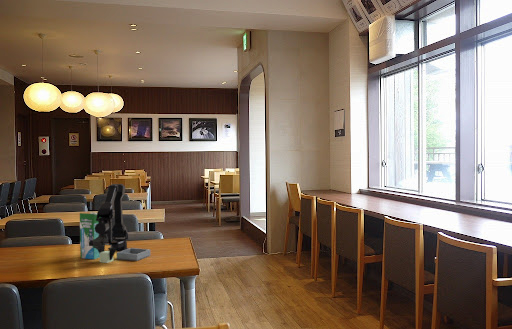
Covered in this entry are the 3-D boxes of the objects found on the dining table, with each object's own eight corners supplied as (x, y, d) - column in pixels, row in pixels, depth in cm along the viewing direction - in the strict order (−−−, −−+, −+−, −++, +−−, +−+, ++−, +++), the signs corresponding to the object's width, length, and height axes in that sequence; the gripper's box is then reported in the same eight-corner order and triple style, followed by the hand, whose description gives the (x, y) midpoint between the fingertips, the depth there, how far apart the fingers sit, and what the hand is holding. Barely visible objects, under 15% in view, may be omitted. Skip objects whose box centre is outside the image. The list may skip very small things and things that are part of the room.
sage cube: (99, 262, 246) (99, 252, 246) (105, 260, 251) (105, 250, 251) (107, 262, 245) (107, 253, 244) (113, 260, 249) (113, 251, 249)
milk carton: (104, 255, 261) (103, 211, 260) (93, 259, 252) (93, 213, 251) (91, 254, 264) (90, 210, 263) (80, 258, 255) (79, 212, 254)
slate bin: (116, 259, 253) (116, 252, 253) (130, 253, 265) (130, 247, 265) (137, 261, 248) (137, 254, 248) (150, 255, 261) (150, 249, 260)
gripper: (81, 232, 243) (81, 261, 243) (111, 234, 236) (111, 264, 237) (95, 228, 253) (95, 256, 254) (124, 230, 247) (124, 259, 247)
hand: (106, 259), depth 248 cm, fingers closed on sage cube, 5 cm apart
